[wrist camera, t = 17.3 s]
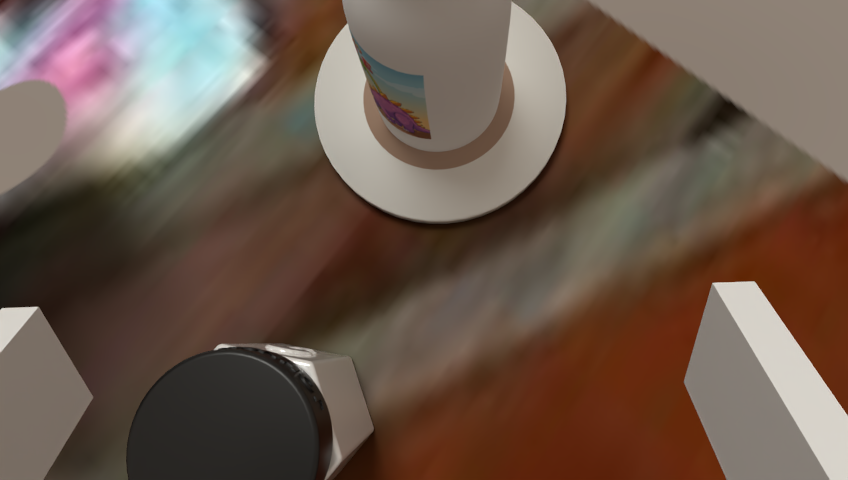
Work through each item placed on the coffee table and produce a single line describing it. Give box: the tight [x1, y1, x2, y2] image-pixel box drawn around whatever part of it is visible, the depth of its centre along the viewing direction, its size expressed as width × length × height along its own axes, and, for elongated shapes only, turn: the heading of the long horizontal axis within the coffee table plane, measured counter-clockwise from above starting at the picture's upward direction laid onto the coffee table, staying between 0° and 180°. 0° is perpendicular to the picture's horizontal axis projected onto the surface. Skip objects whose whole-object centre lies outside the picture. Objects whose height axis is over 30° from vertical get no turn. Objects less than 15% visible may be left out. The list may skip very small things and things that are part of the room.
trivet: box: [314, 2, 566, 224], centre depth 37 cm, size 16×16×1 cm
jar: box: [126, 344, 374, 480], centre depth 29 cm, size 9×8×12 cm
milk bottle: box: [342, 0, 512, 152], centre depth 27 cm, size 8×8×20 cm
